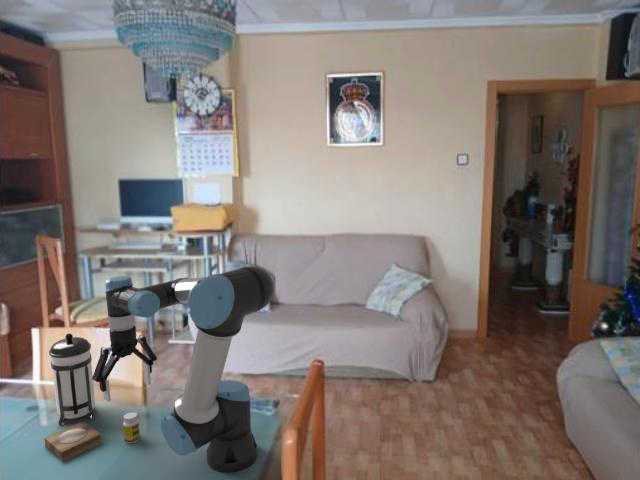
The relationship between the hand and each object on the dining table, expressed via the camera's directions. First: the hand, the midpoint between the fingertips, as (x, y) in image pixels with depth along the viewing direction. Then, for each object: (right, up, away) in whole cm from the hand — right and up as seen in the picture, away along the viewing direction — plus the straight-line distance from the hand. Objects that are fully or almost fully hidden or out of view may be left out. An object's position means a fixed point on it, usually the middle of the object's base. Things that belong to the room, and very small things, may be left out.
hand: (128, 391), depth 154 cm
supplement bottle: (0, -16, +3) cm, 17 cm away
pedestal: (-17, -17, 0) cm, 24 cm away
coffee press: (-24, -14, +17) cm, 33 cm away
